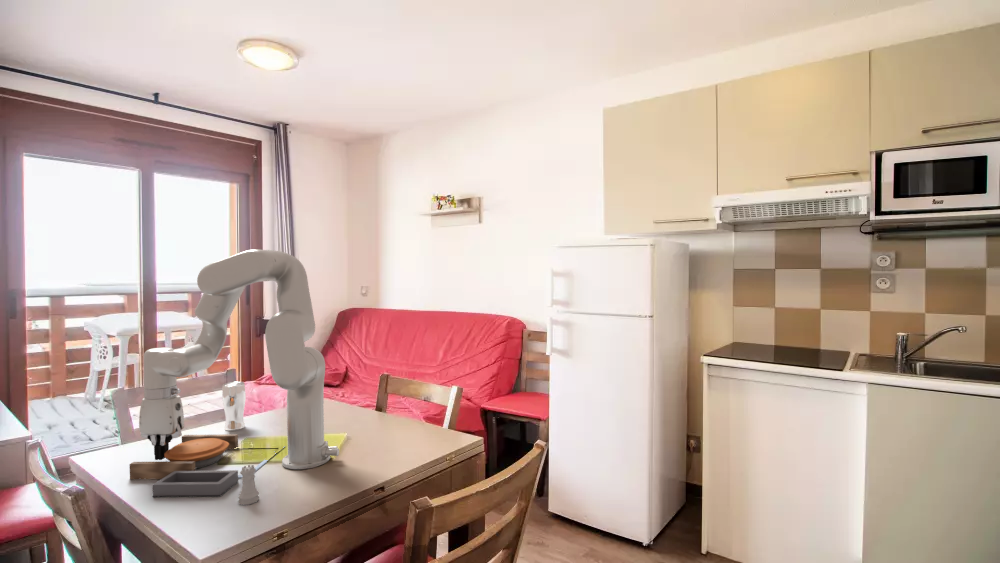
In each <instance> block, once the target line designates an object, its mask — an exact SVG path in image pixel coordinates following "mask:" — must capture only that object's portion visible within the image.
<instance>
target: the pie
mask: <svg viewBox="0 0 1000 563" xmlns="http://www.w3.org/2000/svg"><path fill="white" fill-rule="evenodd" d="M228 446H229V443H228V442H227V441H224V440H221V439H217V438H203V439H196V440H191V441H187V442H183V443H182V442H181V443H178V444H176V445H174V446H172V447H171V448H170V449H169V450H168V451H166V453H165V454H164V457H165V458H164V459H166V460H168V461H195V467H196V469H199V468H204V467H208V466H211V465H213V464H215V463H217V462H218V461H220V459H221V458H222V457H223V455H224V453H225V451H226V450H228V449H227V447H228Z"/></svg>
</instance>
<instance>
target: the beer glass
mask: <svg viewBox="0 0 1000 563" xmlns="http://www.w3.org/2000/svg"><path fill="white" fill-rule="evenodd" d="M221 390H222V392H221V393H222V396H221V398H222V401H221V402H222V406H223V409H224V410H223V411H224V416H225V425H224V430H225V431H226V432H232V431H233V432H234V431H239V430H242V429H244V428H246V427H245V426H246V424H245V420H244V419H245V418H244V411H245V406H246V399H247V398H246V386H245V382H244V381H233V382H226V383H224V384H222V389H221Z"/></svg>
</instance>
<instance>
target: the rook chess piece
mask: <svg viewBox="0 0 1000 563" xmlns="http://www.w3.org/2000/svg"><path fill="white" fill-rule="evenodd" d="M255 471H256V469H255V466H254V465H250V464H249V465H244V466H242V467H241V470H240V475H242V476H243V477H242V478H241V480H242V485H241V490H240V493H239V495H238V497H237V499H238V501H237V502H238V504H239V505H241V506H251V505H253V504H255V503H257V502H258V501H259V499H260V492H259V490H258V489H257V487H256V483H255V478H256V476H255V473H256V472H257V471H256V472H255Z"/></svg>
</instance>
